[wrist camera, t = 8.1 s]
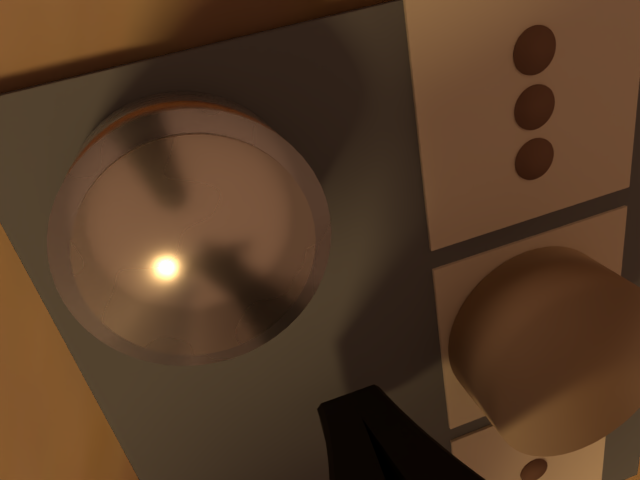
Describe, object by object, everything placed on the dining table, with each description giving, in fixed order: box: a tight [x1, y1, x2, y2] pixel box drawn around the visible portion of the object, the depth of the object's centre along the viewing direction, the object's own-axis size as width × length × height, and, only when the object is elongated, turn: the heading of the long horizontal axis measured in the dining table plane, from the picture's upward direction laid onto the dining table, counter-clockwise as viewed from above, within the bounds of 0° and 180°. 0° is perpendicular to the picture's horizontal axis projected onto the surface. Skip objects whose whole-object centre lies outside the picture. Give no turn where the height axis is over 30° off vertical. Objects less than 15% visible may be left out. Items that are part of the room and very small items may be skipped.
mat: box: [0, 0, 640, 480], centre depth 13 cm, size 14×16×1 cm
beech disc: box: [448, 246, 640, 457], centre depth 12 cm, size 4×4×2 cm
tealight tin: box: [47, 91, 331, 366], centre depth 8 cm, size 4×4×2 cm
